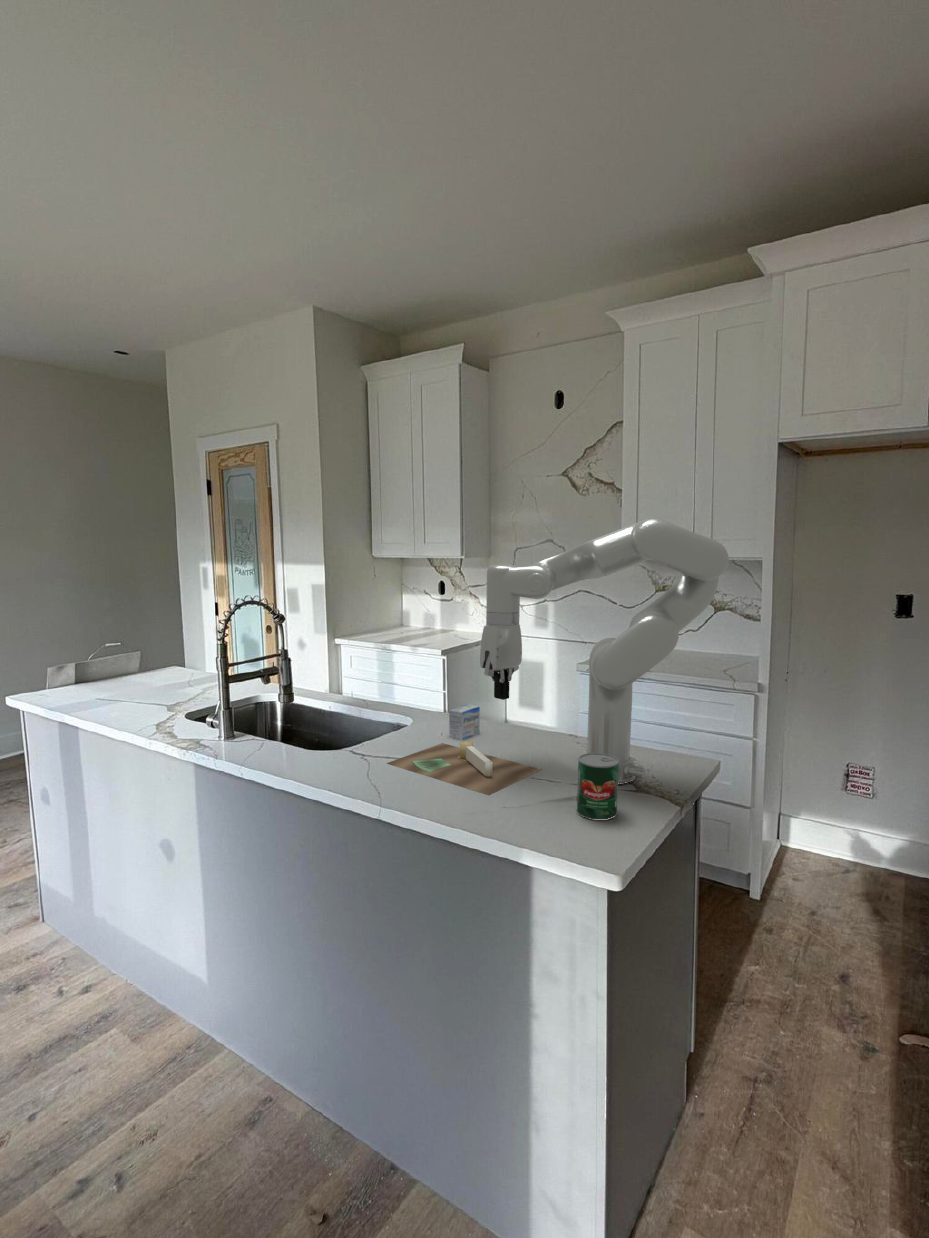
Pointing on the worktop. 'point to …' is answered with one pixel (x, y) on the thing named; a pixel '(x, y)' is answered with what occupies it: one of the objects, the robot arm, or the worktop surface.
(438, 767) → the dial board
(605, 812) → the canned tomato
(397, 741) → the worktop surface
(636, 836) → the worktop surface
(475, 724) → the medicine box
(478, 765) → the pointer
